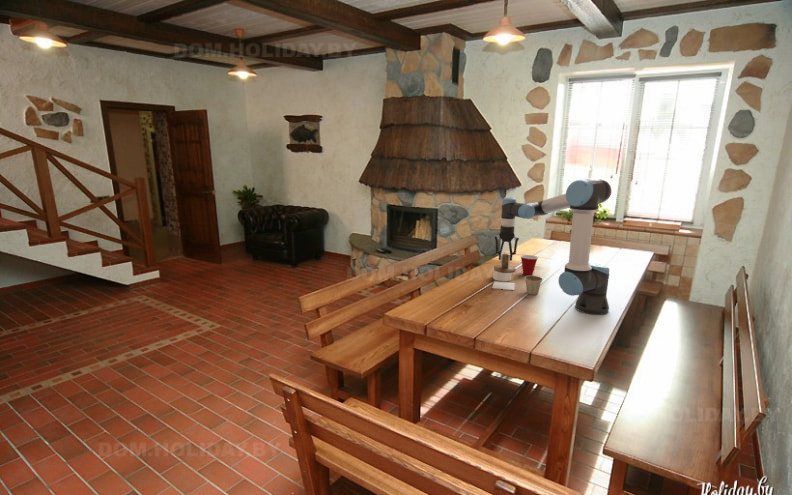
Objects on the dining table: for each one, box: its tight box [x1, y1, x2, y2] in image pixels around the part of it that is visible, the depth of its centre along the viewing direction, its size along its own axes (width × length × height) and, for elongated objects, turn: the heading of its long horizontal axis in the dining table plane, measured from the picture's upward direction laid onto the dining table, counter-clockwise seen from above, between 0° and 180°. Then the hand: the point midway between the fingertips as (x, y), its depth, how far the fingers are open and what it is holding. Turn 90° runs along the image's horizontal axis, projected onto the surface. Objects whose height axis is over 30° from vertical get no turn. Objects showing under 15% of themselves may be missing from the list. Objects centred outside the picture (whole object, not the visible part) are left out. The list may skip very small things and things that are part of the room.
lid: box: [493, 253, 516, 274], centre depth 238 cm, size 12×12×9 cm
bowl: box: [492, 269, 512, 282], centre depth 254 cm, size 10×10×6 cm
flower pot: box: [524, 275, 544, 296], centre depth 229 cm, size 9×9×9 cm
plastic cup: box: [520, 254, 539, 277], centre depth 262 cm, size 11×11×12 cm
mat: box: [491, 280, 516, 291], centre depth 241 cm, size 12×12×1 cm
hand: (504, 265), depth 238 cm, fingers closed on lid, 4 cm apart
